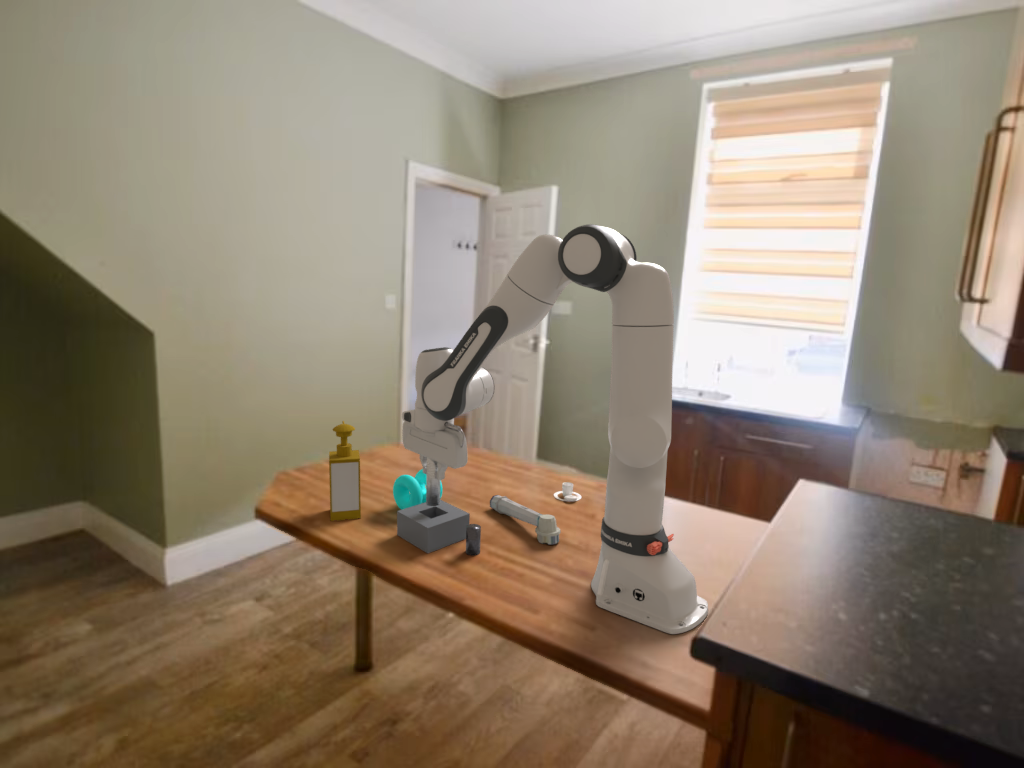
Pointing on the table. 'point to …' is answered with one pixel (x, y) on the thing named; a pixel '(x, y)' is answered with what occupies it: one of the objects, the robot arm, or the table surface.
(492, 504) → the toothbrush head
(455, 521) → the hole block
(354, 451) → the soap bottle
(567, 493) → the teacup and saucer
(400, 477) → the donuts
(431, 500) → the long pin
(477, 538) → the short pin
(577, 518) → the table surface
